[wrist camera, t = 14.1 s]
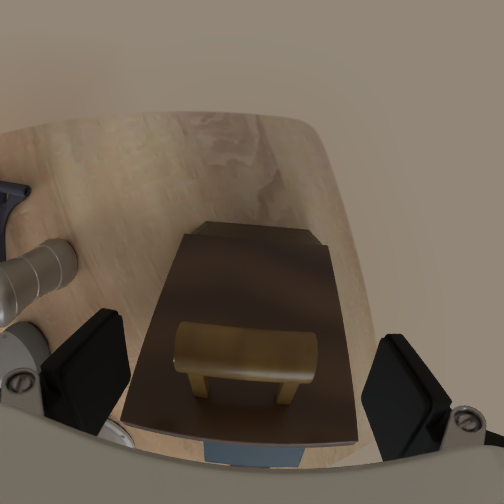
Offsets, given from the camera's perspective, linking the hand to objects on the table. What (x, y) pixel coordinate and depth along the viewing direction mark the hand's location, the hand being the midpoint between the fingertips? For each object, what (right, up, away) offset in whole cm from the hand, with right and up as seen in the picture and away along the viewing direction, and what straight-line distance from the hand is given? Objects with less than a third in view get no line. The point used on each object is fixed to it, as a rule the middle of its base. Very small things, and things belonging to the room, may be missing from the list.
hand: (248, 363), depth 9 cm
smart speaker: (-38, -12, +29) cm, 49 cm away
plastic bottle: (-26, +3, +25) cm, 36 cm away
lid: (0, -1, +8) cm, 8 cm away
